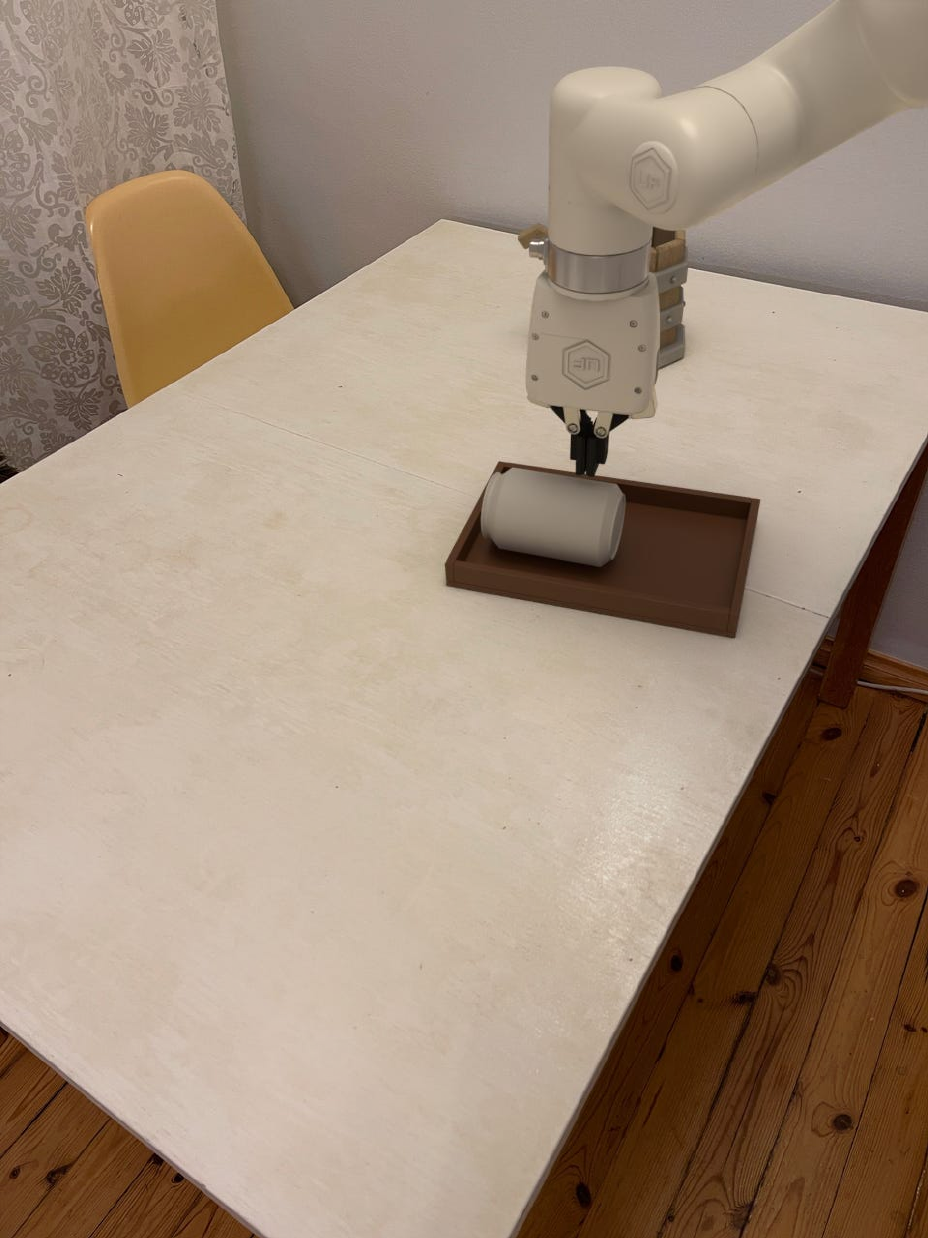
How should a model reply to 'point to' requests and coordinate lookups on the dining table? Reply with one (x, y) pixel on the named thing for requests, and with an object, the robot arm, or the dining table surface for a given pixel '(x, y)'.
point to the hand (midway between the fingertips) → (588, 466)
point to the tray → (631, 559)
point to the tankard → (670, 275)
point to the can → (553, 516)
